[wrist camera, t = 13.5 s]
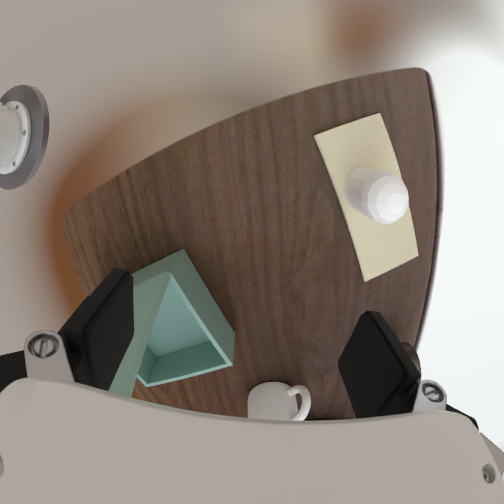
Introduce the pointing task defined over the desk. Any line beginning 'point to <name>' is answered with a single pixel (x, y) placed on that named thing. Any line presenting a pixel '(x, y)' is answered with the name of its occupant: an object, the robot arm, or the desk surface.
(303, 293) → the desk surface
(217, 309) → the mint green open box
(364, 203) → the capsule
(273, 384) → the mug
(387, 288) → the desk surface
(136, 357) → the lid
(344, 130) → the mat
